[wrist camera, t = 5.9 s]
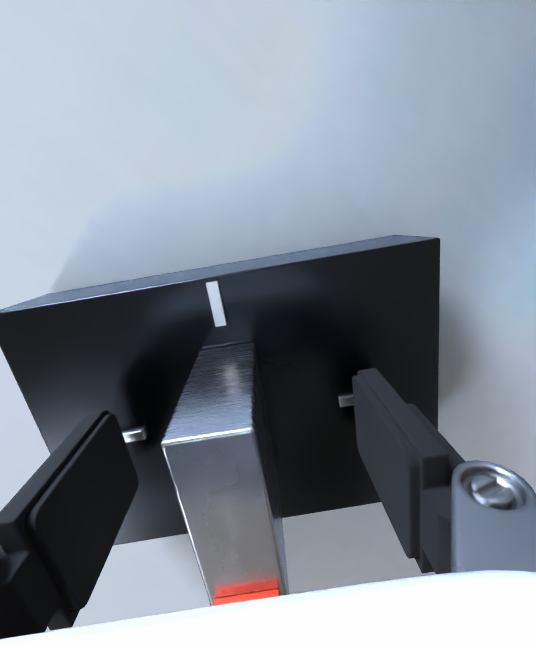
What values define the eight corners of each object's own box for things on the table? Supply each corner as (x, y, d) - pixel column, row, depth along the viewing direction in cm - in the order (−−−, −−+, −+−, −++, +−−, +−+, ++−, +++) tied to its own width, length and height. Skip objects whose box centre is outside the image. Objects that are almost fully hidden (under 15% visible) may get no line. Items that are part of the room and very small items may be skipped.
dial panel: (396, 234, 12) (444, 237, 9) (403, 442, 15) (439, 496, 12) (47, 293, 12) (-21, 316, 9) (124, 488, 15) (92, 553, 12)
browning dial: (199, 349, 10) (153, 453, 5) (254, 341, 10) (254, 437, 5) (231, 482, 12) (216, 645, 7) (278, 475, 12) (293, 633, 7)
